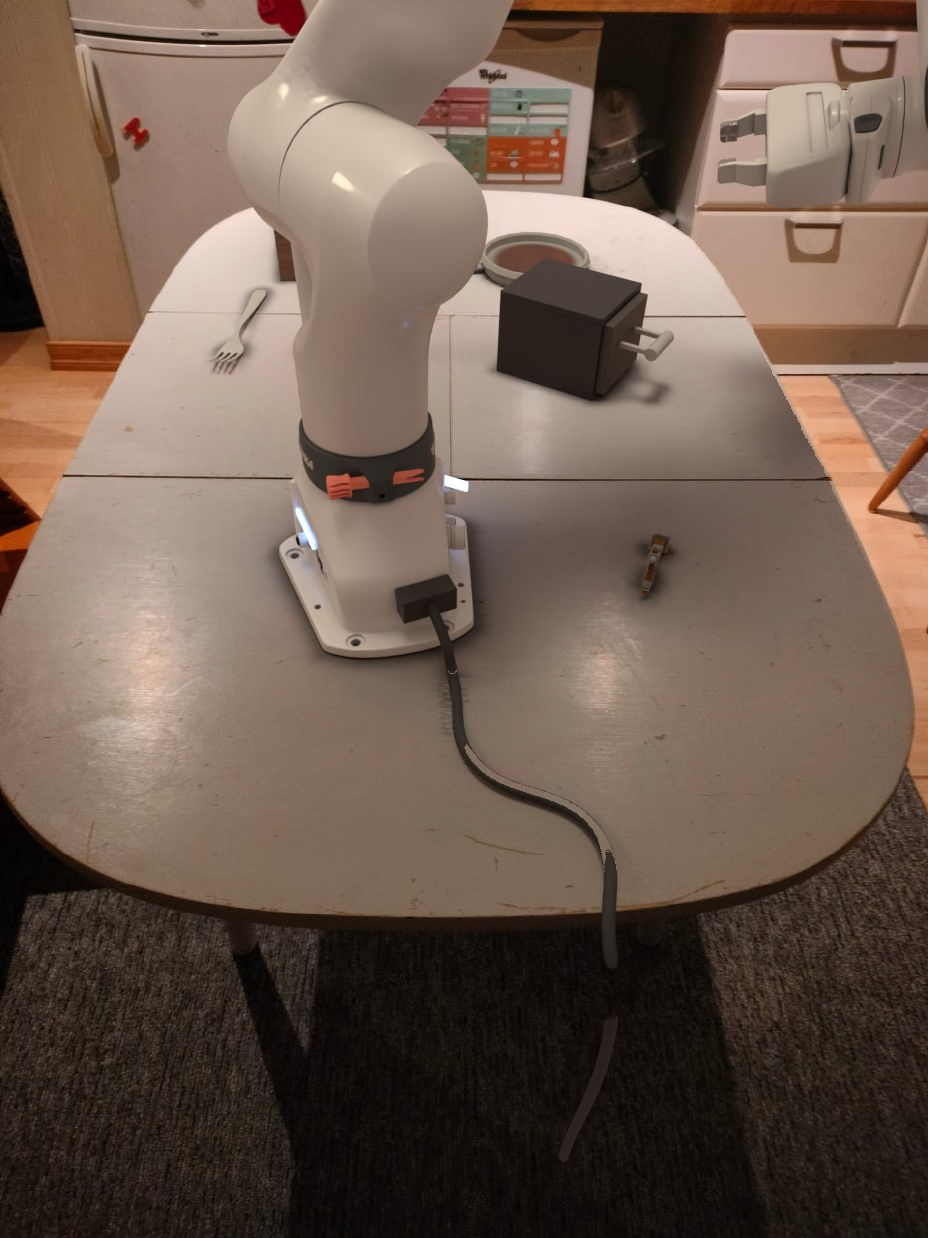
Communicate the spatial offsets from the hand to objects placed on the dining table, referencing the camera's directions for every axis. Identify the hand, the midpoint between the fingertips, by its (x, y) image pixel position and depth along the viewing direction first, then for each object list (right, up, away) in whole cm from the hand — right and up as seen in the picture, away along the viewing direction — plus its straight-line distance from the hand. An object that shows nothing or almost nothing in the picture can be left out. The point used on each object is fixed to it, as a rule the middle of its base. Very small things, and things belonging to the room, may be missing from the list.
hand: (718, 151), depth 89 cm
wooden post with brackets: (-8, -45, -6) cm, 46 cm away
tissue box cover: (-49, +11, +48) cm, 69 cm away
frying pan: (-21, +5, +42) cm, 48 cm away
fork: (-57, -9, +28) cm, 64 cm away
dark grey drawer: (-10, -17, +20) cm, 28 cm away
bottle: (-45, -13, +24) cm, 53 cm away
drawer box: (-14, -16, +22) cm, 30 cm away
